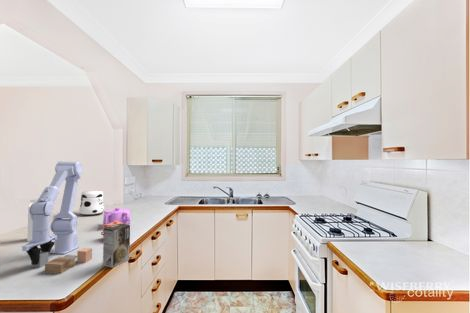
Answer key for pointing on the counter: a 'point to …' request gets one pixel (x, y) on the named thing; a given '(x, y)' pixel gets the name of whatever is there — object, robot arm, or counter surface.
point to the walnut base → (59, 264)
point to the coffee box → (116, 245)
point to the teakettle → (117, 216)
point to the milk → (30, 222)
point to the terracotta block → (84, 255)
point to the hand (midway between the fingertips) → (40, 261)
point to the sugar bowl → (110, 225)
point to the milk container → (91, 203)
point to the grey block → (42, 259)
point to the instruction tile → (71, 256)
